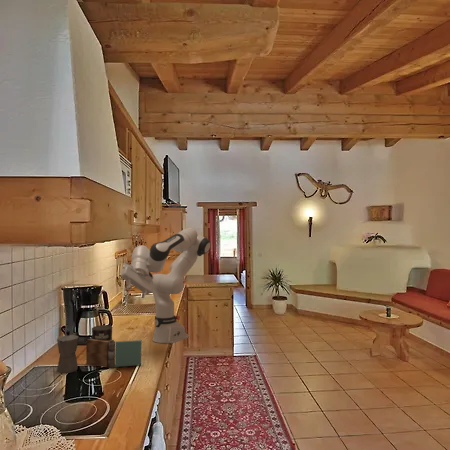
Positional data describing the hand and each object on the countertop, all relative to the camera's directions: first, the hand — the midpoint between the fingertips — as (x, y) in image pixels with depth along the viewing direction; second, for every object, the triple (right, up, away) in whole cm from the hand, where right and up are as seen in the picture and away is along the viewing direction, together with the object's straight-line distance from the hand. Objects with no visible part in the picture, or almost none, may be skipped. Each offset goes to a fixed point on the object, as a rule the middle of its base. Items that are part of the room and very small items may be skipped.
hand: (135, 292), depth 180 cm
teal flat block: (-4, -34, -5) cm, 35 cm away
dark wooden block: (-16, -34, -5) cm, 38 cm away
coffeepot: (-29, -34, -10) cm, 46 cm away
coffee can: (-21, -35, +11) cm, 42 cm away
